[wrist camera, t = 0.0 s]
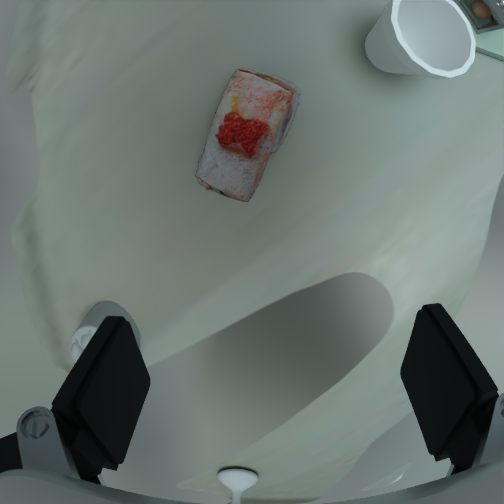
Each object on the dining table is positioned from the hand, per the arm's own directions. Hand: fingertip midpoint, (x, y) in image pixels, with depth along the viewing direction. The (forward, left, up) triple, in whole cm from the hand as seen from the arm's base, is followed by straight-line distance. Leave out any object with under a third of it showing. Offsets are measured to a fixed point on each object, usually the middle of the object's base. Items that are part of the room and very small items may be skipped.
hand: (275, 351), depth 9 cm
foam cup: (-16, +16, -31) cm, 39 cm away
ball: (-26, +32, -31) cm, 51 cm away
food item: (-5, -2, -32) cm, 32 cm away
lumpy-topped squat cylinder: (+25, -28, -32) cm, 49 cm away
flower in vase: (+79, -10, -31) cm, 86 cm away
